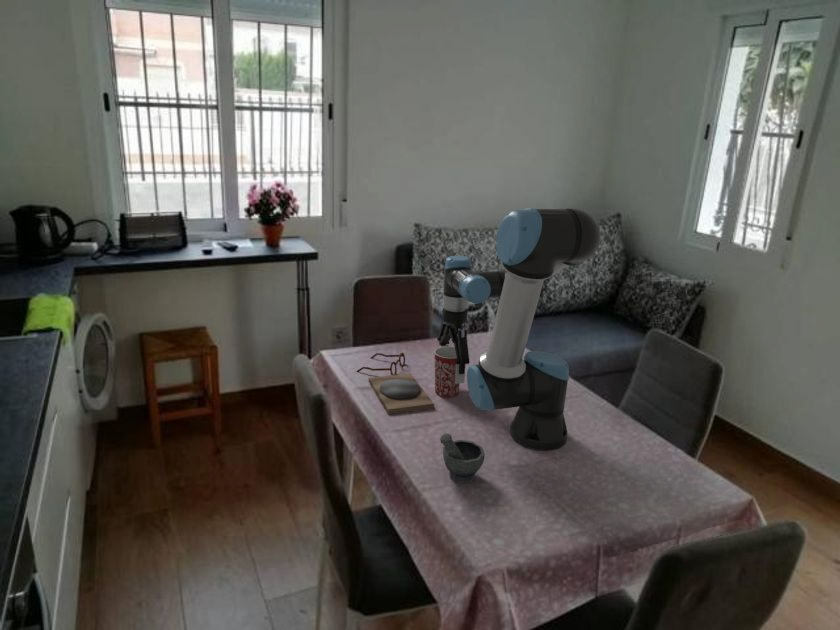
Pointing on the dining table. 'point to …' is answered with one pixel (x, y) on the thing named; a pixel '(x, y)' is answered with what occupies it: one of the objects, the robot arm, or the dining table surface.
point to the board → (400, 393)
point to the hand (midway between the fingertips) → (451, 373)
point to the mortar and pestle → (462, 458)
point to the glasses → (390, 365)
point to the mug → (445, 372)
